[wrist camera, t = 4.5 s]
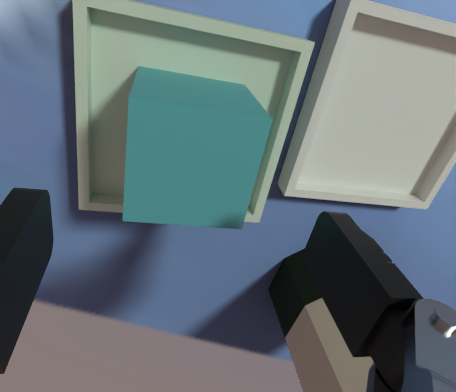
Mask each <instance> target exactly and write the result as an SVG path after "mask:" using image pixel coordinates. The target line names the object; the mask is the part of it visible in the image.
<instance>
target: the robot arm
mask: <svg viewBox="0 0 456 392" xmlns="http://www.w3.org/2000/svg"><path fill="white" fill-rule="evenodd" d="M52 248H53V228H52V217H51V205H50V196H49V192H48V191H47V190H40V189H26V188H13V189H12V190H11V192H10V193H9V194H8V196H7V197H6V198H5V200H4V201H3V203H2V204H1V205H0V374H3V373H4V372H5V370H6V367H7V365H8V362H9V360H10V357H11V355H12V352H13V350H14V347H15V345H16V342H17V340H18V337H19V335H20V332H21V330H22V327H23V325H24V322H25V320H26V317H27V315H28V312H29V310H30V307H31V305H32V302H33V300H34V297H35V295H36V292H37V290H38V288H39V285H40V283H41V280H42V278H43V275H44V273H45V270H46V268H47V265H48V263H49V260H50V257H51V253H52ZM304 261H305V265H306V268H307V270H308V272H309V273H310V275H311V277H312V279H313V281H314V283H315V285H316V287H317V289H318V291H319V293H320V295H321V297H322V299H323V300H324V302H325V304H326V306H327V308H328V310H329V312H330V314H331V316H332V318H333V320H334V322H335V324H336V326H337V327H338V329H339V331H340V333H341V335H342V337H343V339H344V341H345V343H346V345H347V347H348V349H349V351H350V353H351V355H352V356H353V357H371V358H372V360H373V364H372V365H371V367H370V369H369V372H368V380H367V388H366V392H456V310H454V309H453V308H451V307H449V306H448V305H446V304H444V303H441V302H439V301H436V300H433V299H423V297H422V296H421V295H420V294H419V293H418V291H417V290H416V289H415V288H414V287H413V285H412V284H411V283H410V282H409V281H408V280H407V278H406V277H405V276H404V275H403V274H402V272H401V271H400V270H399V269H398V268H397V266H396V265H395V264H392V260H391V259H390V258H389V257H388V256H387V255H386V254H384V251H383V250H382V249H381V247H380V246H379V245H378V244H377V243H376V241H375V240H374V239H372V238H371V237H370V236H368V235H367V234H366V233H364V232H363V231H362V230H361V229H360V228H359V227H358V226H357V225H356V223H355V222H354V221H353V220H352V218H351V217H350V216H349V215H348V214H346V213H338V212H322V213H321V214H320V215H319V216H318V218H317V221H316V223H315V226H314V228H313V230H312V233H311V235H310V238H309V240H308V243H307V245H306V248H305V252H304Z"/></svg>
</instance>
